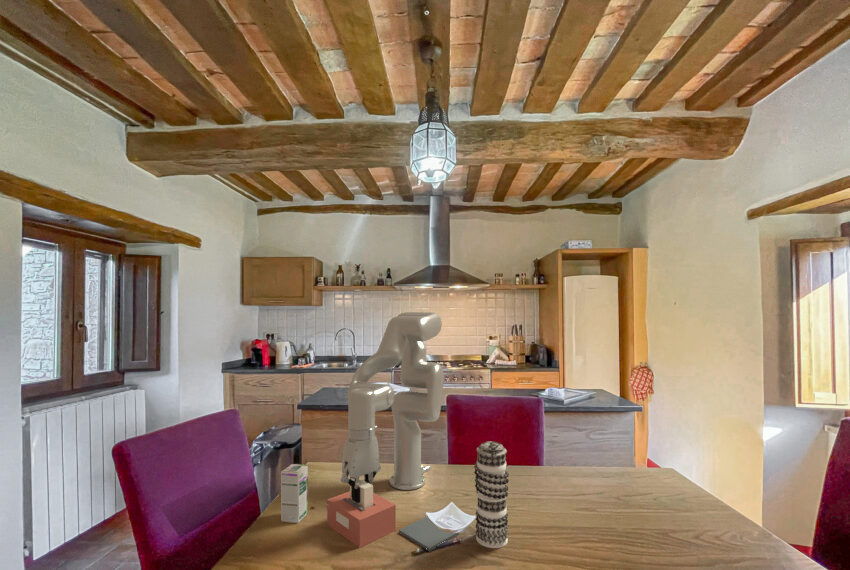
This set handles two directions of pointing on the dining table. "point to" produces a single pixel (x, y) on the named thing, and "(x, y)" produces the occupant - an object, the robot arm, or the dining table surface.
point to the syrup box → (294, 493)
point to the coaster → (426, 533)
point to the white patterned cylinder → (491, 495)
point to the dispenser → (361, 519)
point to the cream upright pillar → (364, 494)
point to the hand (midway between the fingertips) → (361, 498)
